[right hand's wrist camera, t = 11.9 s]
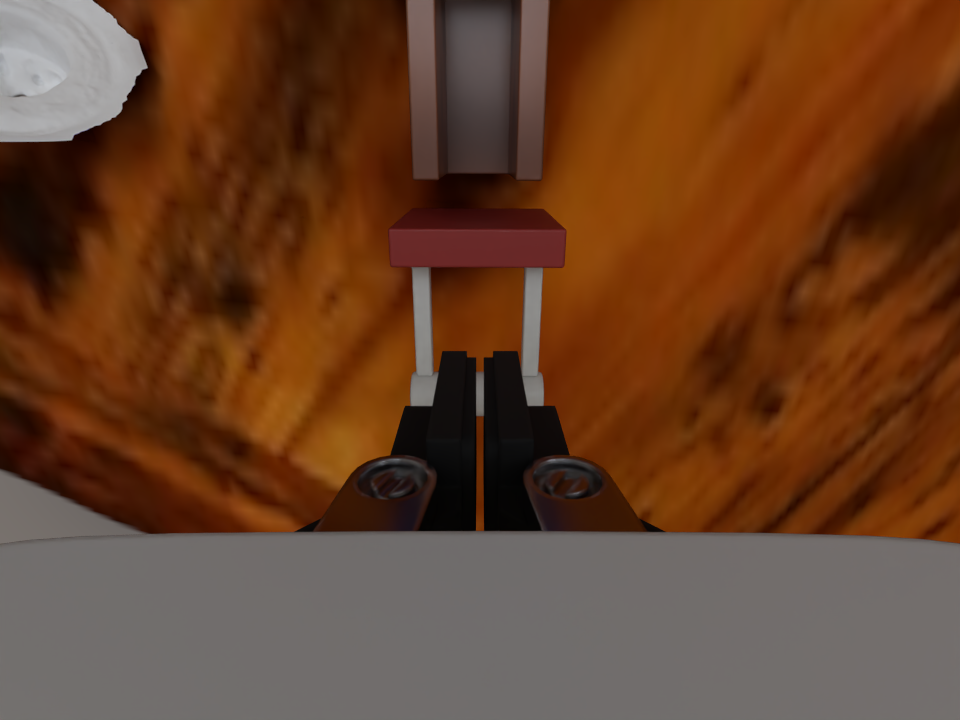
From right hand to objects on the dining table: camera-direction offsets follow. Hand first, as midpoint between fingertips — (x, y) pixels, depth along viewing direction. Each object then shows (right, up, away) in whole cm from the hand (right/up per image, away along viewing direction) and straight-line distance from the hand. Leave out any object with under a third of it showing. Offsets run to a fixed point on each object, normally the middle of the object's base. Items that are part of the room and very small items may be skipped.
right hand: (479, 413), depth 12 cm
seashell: (-16, +13, +9) cm, 23 cm away
